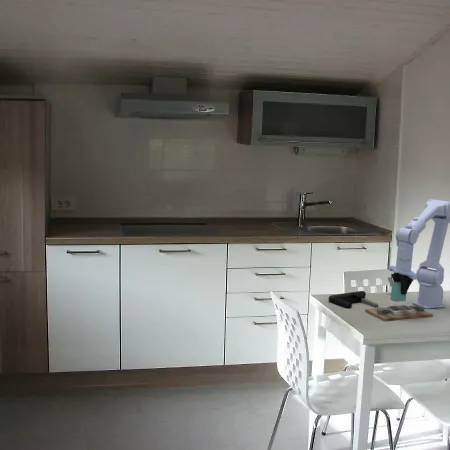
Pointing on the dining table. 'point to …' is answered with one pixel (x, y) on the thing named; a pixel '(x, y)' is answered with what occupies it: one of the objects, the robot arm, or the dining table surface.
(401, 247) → the robot arm
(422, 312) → the board
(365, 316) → the dining table surface
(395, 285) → the block
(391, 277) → the lighter
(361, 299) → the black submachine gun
